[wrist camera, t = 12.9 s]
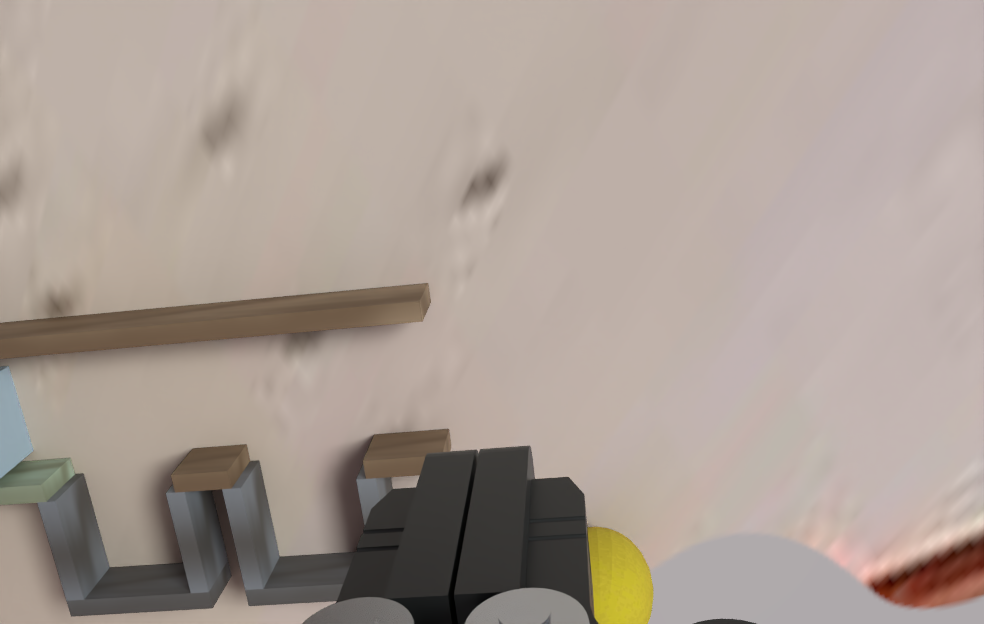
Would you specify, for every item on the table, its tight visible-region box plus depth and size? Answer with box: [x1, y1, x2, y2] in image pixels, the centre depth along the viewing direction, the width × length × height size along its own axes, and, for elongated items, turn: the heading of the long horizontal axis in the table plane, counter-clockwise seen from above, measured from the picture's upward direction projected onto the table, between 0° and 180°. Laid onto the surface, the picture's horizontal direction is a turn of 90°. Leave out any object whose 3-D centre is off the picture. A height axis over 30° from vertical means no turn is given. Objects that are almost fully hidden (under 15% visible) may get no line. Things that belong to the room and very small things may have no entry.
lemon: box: [587, 527, 653, 624], centre depth 46 cm, size 6×6×8 cm
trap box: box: [0, 283, 451, 616], centre depth 48 cm, size 16×29×3 cm, turn 97°
